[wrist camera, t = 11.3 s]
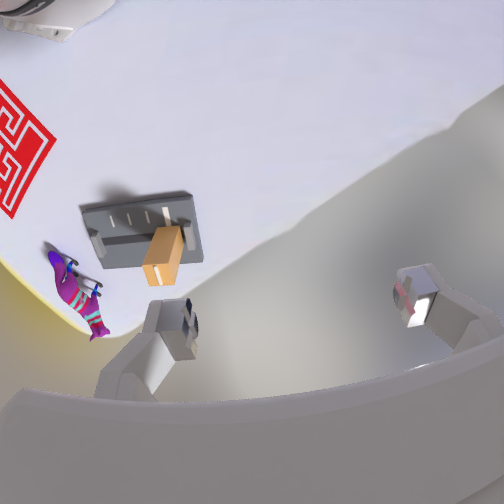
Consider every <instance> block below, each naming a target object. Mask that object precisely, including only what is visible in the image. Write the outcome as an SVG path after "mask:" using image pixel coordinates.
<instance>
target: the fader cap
mask: <svg viewBox="0 0 504 504" xmlns="http://www.w3.org/2000/svg"><path fill="white" fill-rule="evenodd" d="M183 247H184V243H183V239H182V234H181V230H180V225H177V226H167V227H157V229H156V231H155V234H154V236H153V239H152V241H151V244H150V246H149V249H148V251H147V254H146V256H145V259H144V261H143V264H142V267H143V270H144V272H145V275H146V278H147V281H148V284H149V286H162V285H175V281H176V276H177V272H178V268H179V263H180V259H181V255H182V251H183Z"/></svg>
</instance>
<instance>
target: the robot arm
mask: <svg viewBox="0 0 504 504" xmlns="http://www.w3.org/2000/svg"><path fill="white" fill-rule="evenodd" d="M115 1H116V0H0V17H2V20H3V26H4V27H6V28H7V30H10V31H22V32H26V33H30V34H33V35H37V36H40V37H44V38H47V39H50V40H54V41H57V42H66V41H67V40H68V39H70V38H71V36H72V35H73V34H74V33H75V32H76V31H77V30H78V29H79V28H80V27H82V26H83V25H85V24H87V23H89V22H91V21H92V20H94V19H96V18H97V17H99V16H100V15H102V14H103V13H104V12H105V11H106V10H108V9H109V8H110V7H111V6H112V5H113V4H114V2H115ZM57 31H58V34H57V35H56V33H57ZM397 279H398V282H397V283H396V284H395V285H394V289H393V299H394V302H395V305H396V307H397V308H399V309H400V310H402V314H401V317H402V319H403V321H404V323H405V325H406V327H407V328H408V327H413V326H417V325H422V324H424V325H425V326H426V327H427V328H429V329H430V330H431V331H432V332H434V333H435V334H436V335H437V336H438V337H440V338H441V339H442V340H443V341H445V342H446V343H447V344H448V345H449V346H450V347H452V348H453V349H454V350H453V352H452V354H451V355H450V356H449V357H446V358H443V359H440V360H437V361H434V362H431V363H429V364H425V365H422V366H419V367H416V368H412V369H408V370H405V371H402V372H398V373H395V374H391V375H387V376H383V377H379V378H375V379H371V380H366V381H362V382H358V383H353V384H348V385H344V386H339V387H333V388H328V389H323V390H316V391H310V392H304V393H298V394H290V395H282V396H274V397H265V398H255V399H244V400H230V401H211V402H158V401H157V400H156V398H155V397H154V396H153V395H152V394H153V393H154V391H155V390H156V388H157V387H158V386H159V384H160V383H161V381H162V380H163V378H164V377H165V376H166V374H167V373H168V372H169V370H170V369H171V367H172V366H173V365H174V363H175V361H180V360H193V359H196V353H197V344H196V341H195V339H196V338H197V337H198V321H197V317H196V314H195V312H193V311H192V303H191V301H190V299H189V298H179V299H165V300H153V301H151V302H150V304H149V307H148V311H147V315H146V318H145V322H144V326H143V330H142V333H138V334H137V335H136V336H135V337H134V338H133V339H132V340H131V341H130V342H129V343H128V344H127V345H126V346H125V347H124V348H123V349H122V350H121V351H120V352H119V353H118V354H117V355H116V356H115V357H114V358H113V359H112V360H111V361H110V362H109V363H108V364H107V365H106V366H105V367H104V368H103V369H102V370H101V372H100V376H99V380H98V383H97V386H96V390H95V394H94V398H90V397H81V396H74V395H67V394H60V393H54V392H48V391H43V390H37V389H32V388H23V389H21V390H20V391H19V392H17V393H16V394H15V395H14V396H13V397H12V398H11V399H10V400H9V401H8V402H7V403H6V405H5V406H4V407H3V408H2V409H1V412H0V504H504V327H503V325H502V324H501V322H500V320H499V319H498V317H497V316H496V314H495V313H494V312H493V311H491V310H490V309H488V308H486V307H484V306H483V305H481V304H480V303H478V302H476V301H474V300H473V299H471V298H469V297H467V296H466V295H464V294H462V293H460V292H459V291H457V290H455V289H453V288H452V289H450V288H449V287H448V285H447V283H446V282H445V281H444V279H443V278H442V276H441V275H440V274H439V272H438V271H437V269H436V268H435V267H434V265H433V264H431V263H429V264H424V265H420V266H413V267H408V268H403V269H400V270H399V271H398V273H397Z"/></svg>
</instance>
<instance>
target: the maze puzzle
mask: <svg viewBox="0 0 504 504" xmlns="http://www.w3.org/2000/svg"><path fill="white" fill-rule="evenodd" d="M0 88H1V89H2V90H3V91H4V93H5V94H6V95H7V96H8V97H9V98H10V99H11V100H12V102H13V103H14V104H15V105H16V106H17V107H18V108H19V109H20V110H21V111H22V112H23V114H24V115H25V117H24V118H23V120H22V122H21V124H20V126H19V127H18V129H17V131H16V133H15V135H14V137H13V136H12V135H11V133H10V132H9V131H8V130H7V129H6V128H5V126H6V124H7V122H8V120H9V118H8V116H7V115H6V114H5V113H4V112H3V113H2V115H1V117H0V130H1V131H2V133H3V134H4V135H5V136H6V137H7V138H8V139H9V140H10V141H11V143H12V144H13V145H15V144H16V142H17V140H18V138H19V136H20V134H21V132H22V131H23V129H24V127H25V125H26V123H27V122H28V120H30V121H31V122H32V123H33V124H34V125H35V126H36V127H37V128H38V129H39V131H40V132H41V133H42V134H43V135H44V136H45V137H46V138H47V139H48V140H49V142H48V144H47V145H46V147H45V149H44V150H43V152H42V153H41V155H40V157H39V159H38V160H37V162H36V164H35V165H34V167H33V169H32V171H31V173H30V174H29V176H28V178H27V180H26V182H25V184H24V186H23V188H22V190H21V192H20V194H19V196H18V198H17V200H16V202H15V204H14V206H13V208H12V211H11V212H10V211H9V210H8V209H7V208H6V207H5V206H4V205H3V204H2V202H3V199H4V197H5V195H6V192H7V190H8V188H9V186H10V183H11V181H12V179H13V177H14V175H15V173H16V171H17V169H18V167H17V165H16V164H15V163H14V162H13V161H12V160H11V159H10V158H9V157H8V159H7V161H6V162H7V163H8V164H9V165H10V166H11V167H12V170H11V172H10V174H9V177H8V179H7V181H6V182H5V181H4V180H3V179H2V178H1V177H0V188H1V189H2V193H1V195H0V207H1V209H2V210H3V211H4V212H5V213H6V214H7V215H8V216H9V217H10V218H11V219H13V217H14V215H15V213H16V211H17V209H18V207H19V204H20V202H21V200H22V198H23V197H24V195H25V193H26V191H27V189H28V187H29V185H30V183H31V181H32V180H33V178H34V176H35V174H36V173H37V171H38V169H39V167H40V166H41V164H42V162H43V161H44V159H45V157H46V156H47V154H48V153H49V151H50V149H51V148H52V146H53V145H54V143H55V142H56V140H57V139H56V138H55V137H54V136H53V135H52V134H51V133H50V132H49V131H48V130H47V129H46V128H45V127H44V126H43V125H42V124H41V123H40V122H39V121H38V120H37V119H36V117H35V116H34V115H33V114H32V113H31V112H30V111H29V110H28V109H27V108H26V107H25V106H24V105H23V104H22V102H21V101H20V100H19V99H18V98H17V97H16V96H15V95H14V94H13V93H12V92H11V90H10V89H9V88H8V87H7V86H6V85H5V84H4V83H3V81H2V80H1V79H0ZM2 106H4V107H5V108H6V110H7V111H8V112H9V113H10V114H11V115H12V116H13V117H14V119H13V120H12V122H11V124H10V126H9V127H10V128H11V129H12V130H13V129H14V127H15V125H16V123H17V121H18V119H19V118H20V115H19V114H18V113H17V112H16V111H15V110H14V109H13V108H12V106H11V105H10V104H9V103H8V102H7V101H6V100H5V99H4V97H3V96H2V95H1V94H0V110H1V108H2ZM0 143H1V144H2V145H3V147H4V148H3V150H2V152H1V155H0V173H1V174H2V175H3V176H5V174H6V172H7V170H8V168H7V166H6V165H5V164H4V163H3V162H2V161H3V159H4V157H5V155H6V152H7V151H8V152H9V153H10V154H11V155H12V156H13V158H14V159H15V160H16V161H17V162H18V163H19V164H20V165H21V166H22V167H23V168H22V170H21V172H20V174H19V176H18V178H17V180H16V182H15V184H14V186H13V188H12V190H11V193H10V195H9V197H8V199H7V201H6V205H7V206H8V207H9V206H10V204H11V201H12V199H13V197H14V195H15V193H16V191H17V189H18V187H19V185H20V183H21V181H22V179H23V177H24V175H25V173H26V171H27V169H28V167H29V166H30V164H31V162H32V160H33V158H34V157H35V155H36V153H37V151H38V150H39V148H40V146H41V145H42V143H43V140H42V139H41V138H40V137H39V136H38V134H37V133H36V132H35V131H34V130H33V129H32V128H31V127H29V128H28V130H27V132H26V133H25V135H24V137H23V139H22V141H21V143H20V144H19V146H18V148H17V150H16V152H15V151H14V150H13V149H12V148H11V147H10V145H9V144H8V143H7V142H6V141H5V140H4V139H3V138H2V137H1V135H0Z"/></svg>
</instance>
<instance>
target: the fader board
mask: <svg viewBox="0 0 504 504" xmlns="http://www.w3.org/2000/svg"><path fill="white" fill-rule="evenodd" d="M82 215H83V218H84V220H85V223H86V226H87V229H88V232H89V234H90V237H91V240H92V243H93V245H94V248H95V250H96V253H97V255H98V258H99V260H100V262H101V265H102V267H103V269H114V268H129V267H142V264H143V261H144V259H145V256H146V254H147V251H148V249H149V246H150V244H151V241H152V239H153V236H154V234H155V231H156V229H157V227H167V226H177V225H180V230H181V234H182V239H183V243H184V247H183V251H182V255H181V259H180V263H179V264H186V263H200V262H203V257H204V256H203V251H202V246H201V240H200V235H199V230H198V224H197V219H196V213H195V207H194V201H193V195H190V196H181V197H172V198H163V199H155V200H147V201H139V202H132V203H125V204H118V205H111V206H105V207H98V208H92V209H86V210H85V211H84V212H83V214H82Z"/></svg>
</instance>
